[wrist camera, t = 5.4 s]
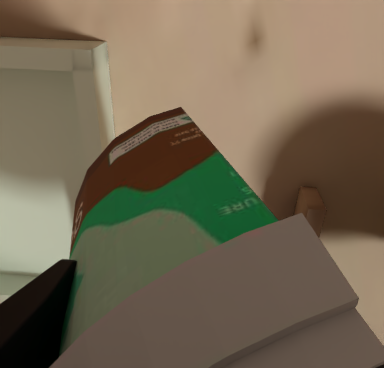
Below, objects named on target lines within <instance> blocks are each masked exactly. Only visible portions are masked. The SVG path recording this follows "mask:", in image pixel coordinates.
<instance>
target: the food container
mask: <svg viewBox="0 0 384 368" xmlns="http://www.w3.org/2000/svg"><path fill="white" fill-rule="evenodd" d="M69 259H71V260H76V261H77V264H76V268H75V273H74V277H73V281H72V286H71V290H70V295H69V299H68V304H67V309H66V313H65V318H64V323H63V327H62V334H61V343H60V351H59V358H58V359H57V360H56V361H55V362H54V363H53V364H52V365H51V366H50V367H49V368H376V367H378V366H380V365H383V364H384V346H383V345H382V344H381V342H380V341H379V339H378V338H377V337H376V335H375V334H374V333H373V331H372V330H371V329H370V327H369V326H368V325H367V323H366V322H365V321H364V319H363V318H362V317H361V315H360V314H359V313H358V311H357V310H356V309H355V307H356V305H357V303H358V299H359V298H358V296H357V295H356V293H355V292H354V290H353V289H352V287H351V286H350V284H349V283H348V281H347V280H346V278H345V277H344V275H343V274H342V272H341V271H340V269H339V268H338V266H337V265H336V263H335V262H334V260H333V259H332V257H331V256H330V254H329V253H328V251H327V250H326V248H325V247H324V245H323V244H322V242H321V241H320V239H319V238H318V236H317V235H316V233H315V232H314V230H313V229H312V227H311V226H310V224H309V223H308V221H307V220H306V218H305V217H304V215H303V214H302V213H300V214H297V215H294V216H291V217H288V218H285V219H283V220H280V221H279V220H278V219H277V218H276V217H275V216H274V215H273V213H272V212H271V211H270V210H269V209H268V208H267V206H266V205H265V204H264V203H263V202H262V201H261V199H260V198H259V197H258V196H257V195H256V194H255V193H254V191H253V190H252V189H251V188H250V187H249V186H248V184H247V183H246V182H245V181H244V180H243V179H242V177H241V176H240V175H239V174H238V173H237V172H236V170H235V169H234V168H233V167H232V166H231V165H230V163H229V162H228V161H227V160H226V159H225V158H224V157H223V155H222V154H221V153H220V152H219V151H218V150H217V148H216V147H215V146H214V145H213V144H212V143H211V141H210V140H209V139H208V138H207V137H206V136H205V134H204V133H203V132H202V131H201V130H200V129H199V127H198V126H197V125H196V124H195V123H194V122H193V121H192V119H191V118H190V117H189V116H188V115H187V114H186V112H185V111H184V110H183V109H182V108H181V107H179V108H176V109H173V110H169V111H166V112H163V113H160V114H156V115H153V116H150V117H148V118H147V119H145V120H144V121H142V122H140V123H139V124H137V125H135V126H134V127H132V128H131V129H129V130H127V131H126V132H124V133H123V134H121V135H119V136H118V137H116V138H115V139H113V140H112V141H111V143H110V144H109V145H108V146H107V147H106V148H105V150H104V151H103V152H102V153H101V154H100V155H99V156H98V158H97V159H96V160H95V161H94V162H93V163H92V165H91V166H90V167H89V168H88V169H87V172H86V174H85V177H84V180H83V182H82V185H81V188H80V190H79V193H78V195H77V198H76V201H75V209H74V219H73V228H72V237H71V247H70V256H69Z"/></svg>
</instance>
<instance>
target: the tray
mask: <svg viewBox="0 0 384 368" xmlns="http://www.w3.org/2000/svg"><path fill="white" fill-rule="evenodd" d="M113 139H115V132H114V120H113V109H112V97H111V86H110V74H109V63H108V51H107V42H106V41H83V40H61V39H39V38H16V37H0V303H2V302H3V301H4V300H6V299H7V298H9V297H10V296H11V295H13V294H14V293H15V292H17V291H18V290H19V289H21V288H22V287H24V286H25V285H26V284H28V283H29V282H30V281H32V280H33V279H34V278H36V277H37V276H39V275H40V274H41V273H43V272H44V271H45V270H47V269H48V268H49V267H51V266H52V265H54V264H55V263H56V262H58V261H59V260H61V259H69V256H70V247H71V237H72V228H73V219H74V209H75V201H76V198H77V195H78V193H79V190H80V188H81V185H82V182H83V180H84V177H85V174H86V172H87V169H88V168H89V167H90V166H91V165H92V163H93V162H94V161H95V160H96V159H97V158H98V156H99V155H100V154H101V153H102V152H103V151H104V150H105V148H106V147H107V146H108V145H109V144H110V143H111V141H112V140H113Z"/></svg>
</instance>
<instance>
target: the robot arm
mask: <svg viewBox="0 0 384 368" xmlns="http://www.w3.org/2000/svg"><path fill="white" fill-rule="evenodd" d="M76 264H77V261H76V260H71V259H61V260H59V261H58V262H56V263H55V264H54V265H52V266H51V267H49V268H48V269H47V270H45V271H44V272H43V273H41V274H40V275H39V276H37V277H36V278H34V279H33V280H32V281H30V282H29V283H28V284H26V285H25V286H24V287H22V288H21V289H19V290H18V291H17V292H15V293H14V294H13V295H11V296H10V297H9V298H7V299H6V300H4V301H3V302H2V303H0V368H49V367H50V366H51V365H52V364H53V363H54V362H55V361H56V360H57V359H58V358H59V351H60V343H61V334H62V327H63V323H64V318H65V313H66V309H67V304H68V299H69V295H70V290H71V286H72V281H73V277H74V273H75V268H76ZM376 368H384V364H383V365H380V366H378V367H376Z"/></svg>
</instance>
